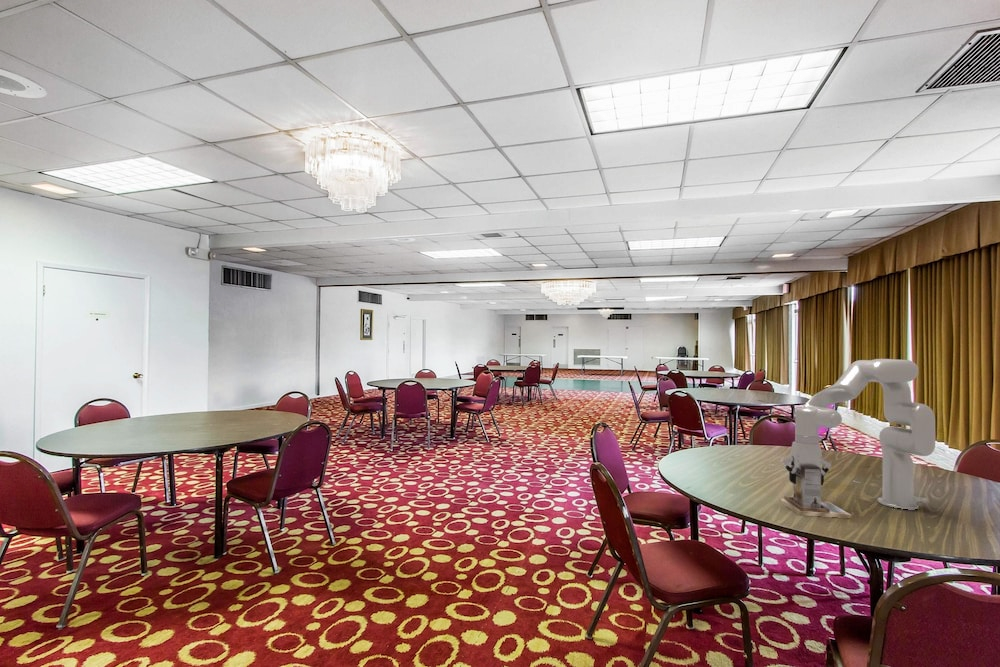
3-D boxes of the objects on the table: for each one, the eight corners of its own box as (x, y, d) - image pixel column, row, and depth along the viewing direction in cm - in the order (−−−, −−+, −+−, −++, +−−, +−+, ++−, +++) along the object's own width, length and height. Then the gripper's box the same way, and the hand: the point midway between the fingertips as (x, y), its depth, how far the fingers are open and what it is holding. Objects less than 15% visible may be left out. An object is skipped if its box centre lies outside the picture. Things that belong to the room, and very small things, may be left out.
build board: (828, 505, 183) (828, 498, 183) (851, 518, 169) (851, 511, 169) (781, 502, 185) (781, 495, 185) (798, 515, 171) (798, 508, 171)
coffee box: (792, 501, 183) (792, 461, 183) (810, 502, 182) (810, 462, 182) (803, 509, 174) (803, 467, 174) (822, 510, 172) (822, 468, 173)
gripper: (825, 438, 181) (824, 482, 180) (778, 436, 183) (778, 479, 183) (836, 442, 173) (836, 488, 173) (787, 440, 175) (787, 485, 175)
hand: (806, 483), depth 178 cm, fingers open, 9 cm apart
